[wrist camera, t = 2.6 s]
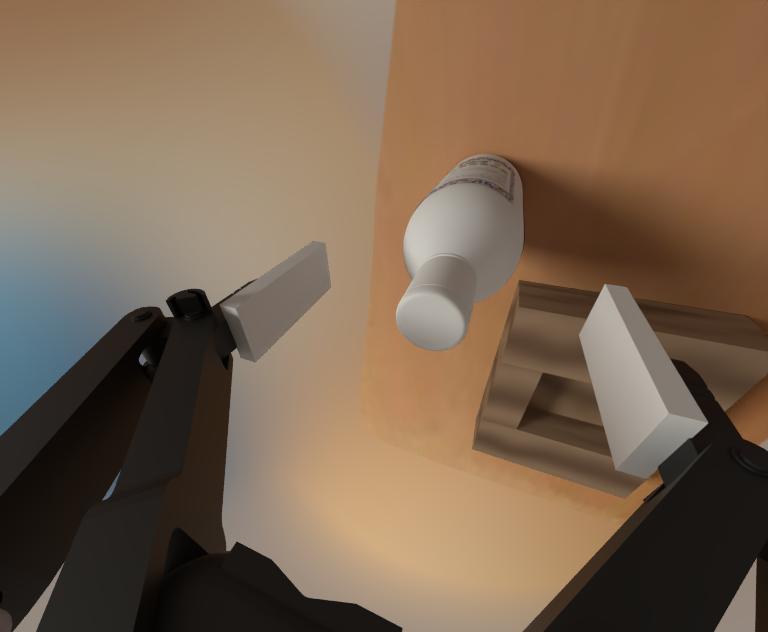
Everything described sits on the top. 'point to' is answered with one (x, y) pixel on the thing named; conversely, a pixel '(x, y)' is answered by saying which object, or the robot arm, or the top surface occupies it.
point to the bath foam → (460, 249)
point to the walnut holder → (574, 386)
